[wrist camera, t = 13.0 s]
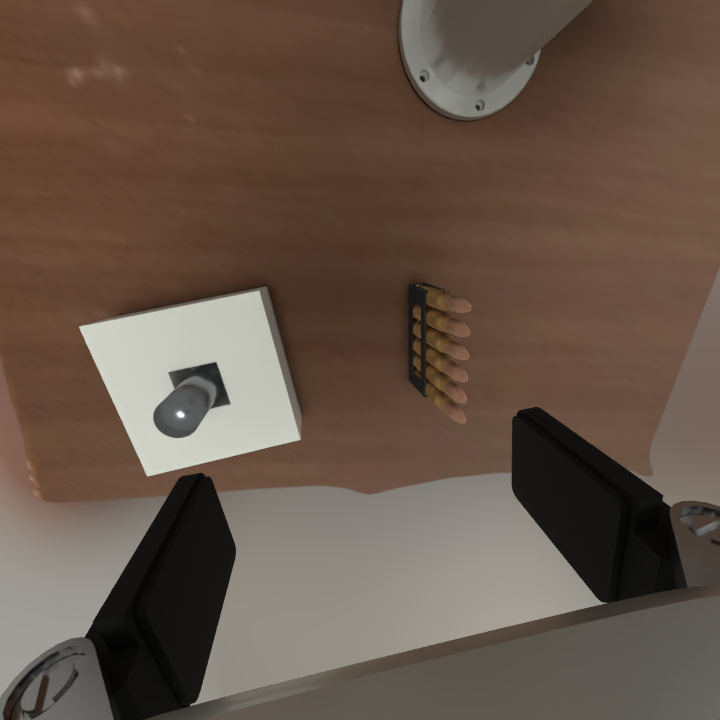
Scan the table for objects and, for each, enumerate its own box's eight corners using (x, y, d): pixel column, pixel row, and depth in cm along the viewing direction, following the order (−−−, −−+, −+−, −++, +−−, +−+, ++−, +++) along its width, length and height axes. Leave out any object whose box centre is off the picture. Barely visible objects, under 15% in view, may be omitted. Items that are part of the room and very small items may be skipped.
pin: (194, 361, 32) (145, 405, 23) (225, 354, 32) (190, 394, 23) (204, 389, 33) (162, 442, 23) (235, 382, 33) (205, 432, 24)
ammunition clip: (425, 380, 37) (475, 432, 26) (409, 381, 37) (453, 435, 26) (426, 282, 34) (484, 293, 23) (408, 284, 34) (458, 295, 23)
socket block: (118, 315, 31) (78, 326, 26) (267, 285, 32) (259, 290, 27) (171, 444, 35) (147, 476, 30) (302, 414, 36) (300, 439, 31)
